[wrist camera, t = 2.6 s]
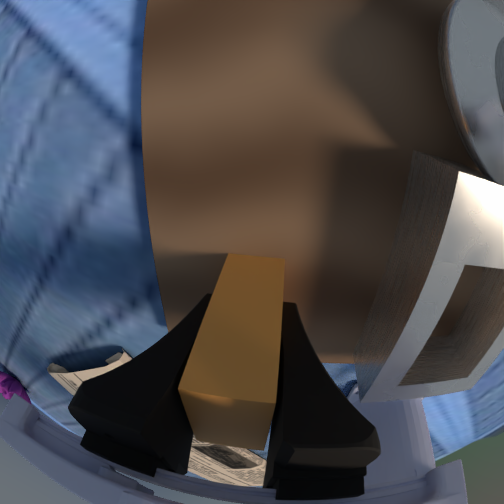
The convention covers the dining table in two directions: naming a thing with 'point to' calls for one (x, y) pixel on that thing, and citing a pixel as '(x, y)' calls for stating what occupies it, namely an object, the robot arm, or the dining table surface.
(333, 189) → the board
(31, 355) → the dining table surface
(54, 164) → the dining table surface
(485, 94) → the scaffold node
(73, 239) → the dining table surface
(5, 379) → the purple coral
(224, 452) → the newspaper
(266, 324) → the tan rectangular prism
